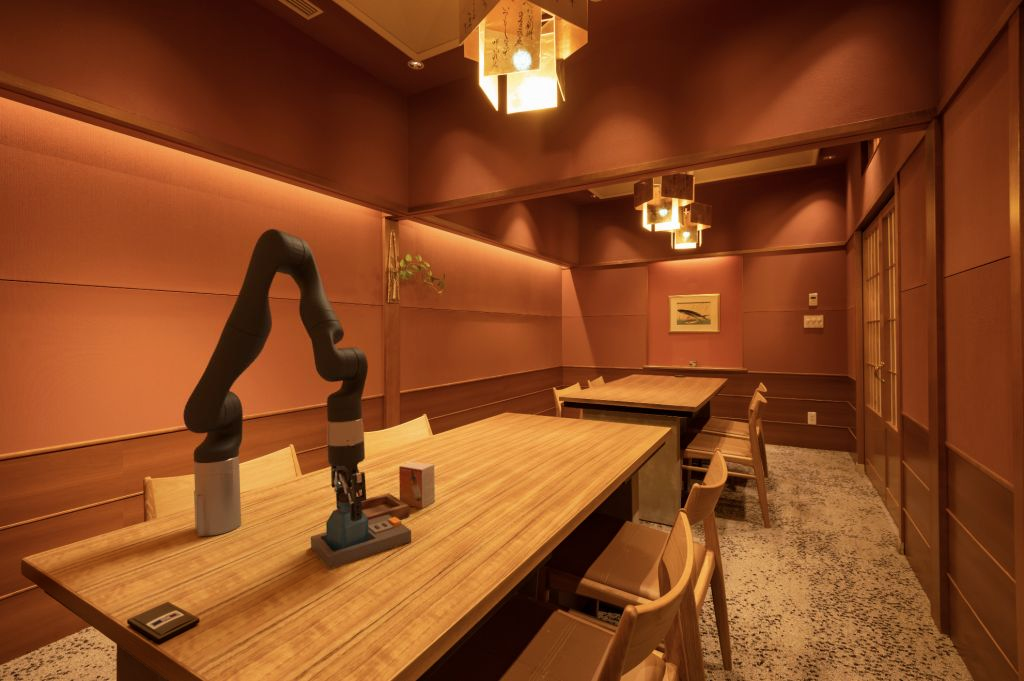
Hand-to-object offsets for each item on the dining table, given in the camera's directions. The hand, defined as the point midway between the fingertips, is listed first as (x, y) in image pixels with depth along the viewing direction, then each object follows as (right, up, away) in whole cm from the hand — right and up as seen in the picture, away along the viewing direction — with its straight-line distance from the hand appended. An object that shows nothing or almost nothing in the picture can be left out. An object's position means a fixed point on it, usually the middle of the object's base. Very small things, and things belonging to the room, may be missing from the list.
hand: (349, 514), depth 100 cm
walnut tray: (+1, -7, +18) cm, 19 cm away
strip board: (+2, -8, +2) cm, 8 cm away
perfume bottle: (0, -8, 0) cm, 8 cm away
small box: (+10, -7, +26) cm, 29 cm away
